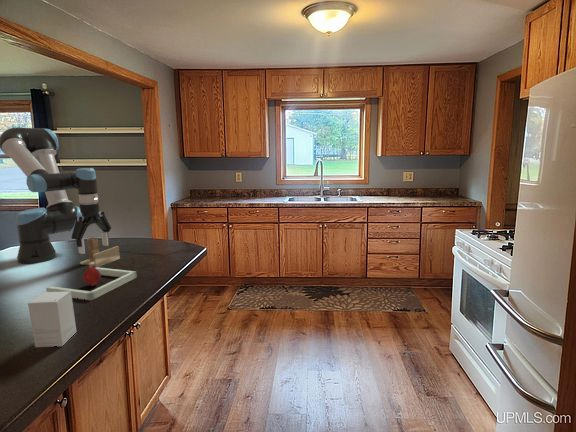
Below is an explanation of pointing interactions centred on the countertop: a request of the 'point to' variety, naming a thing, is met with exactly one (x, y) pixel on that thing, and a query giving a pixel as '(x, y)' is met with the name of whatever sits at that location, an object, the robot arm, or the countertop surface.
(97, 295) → the sage frame
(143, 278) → the countertop surface
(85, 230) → the robot arm
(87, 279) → the red round fruit
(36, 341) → the supplement box
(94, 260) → the wooden scraper
